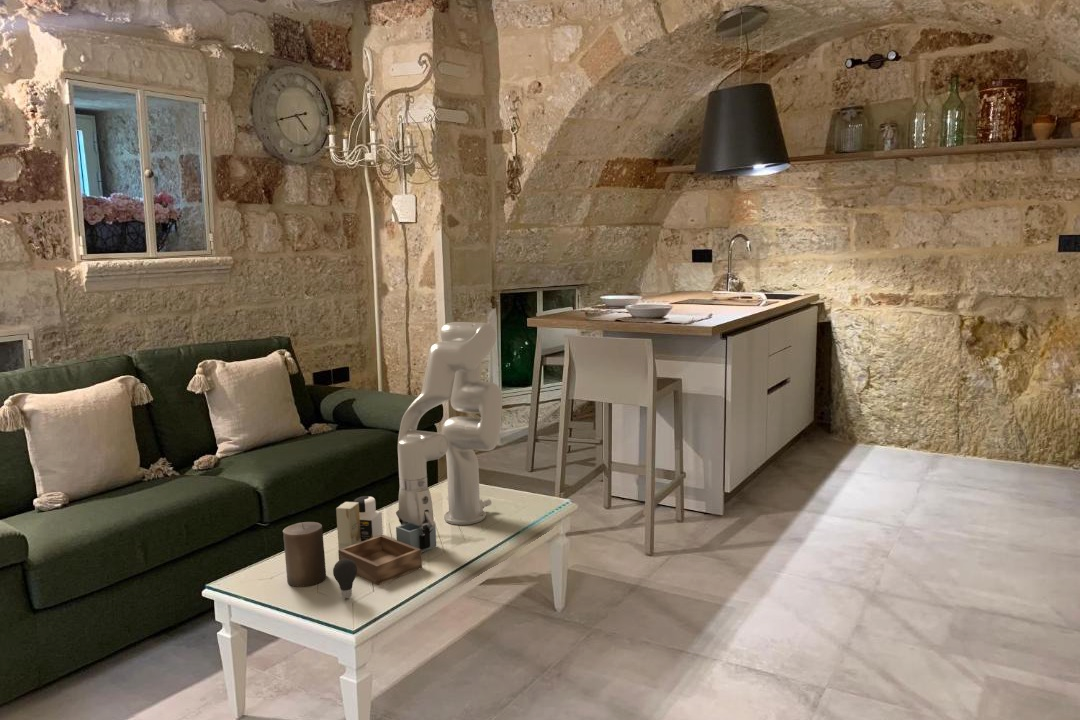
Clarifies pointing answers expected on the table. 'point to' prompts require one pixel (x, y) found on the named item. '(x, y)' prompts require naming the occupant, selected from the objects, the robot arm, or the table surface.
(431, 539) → the grey crate
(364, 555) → the walnut crate
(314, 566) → the pillar candle
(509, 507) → the table surface
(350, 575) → the light bulb
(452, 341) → the robot arm
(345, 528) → the skincare box
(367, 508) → the medicine bottle
